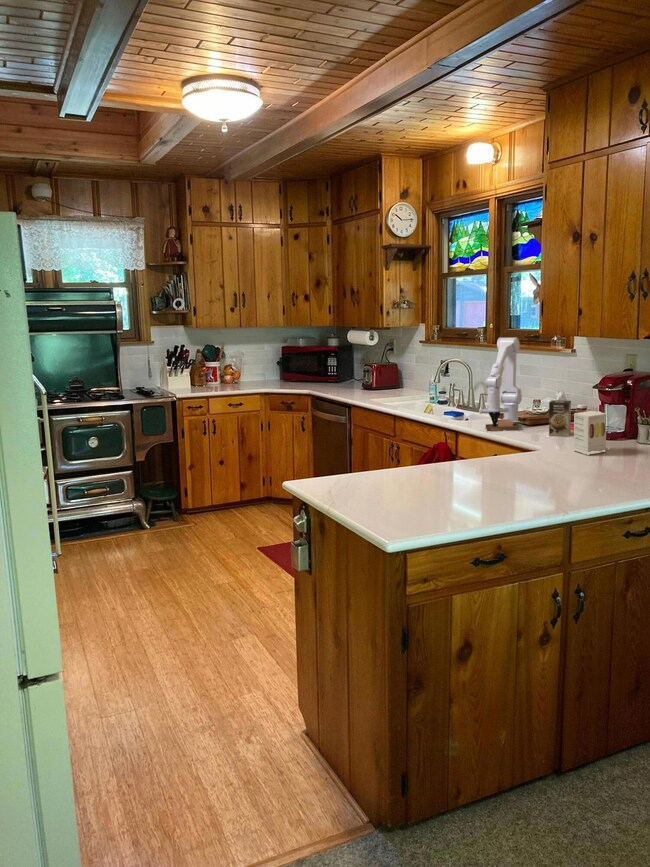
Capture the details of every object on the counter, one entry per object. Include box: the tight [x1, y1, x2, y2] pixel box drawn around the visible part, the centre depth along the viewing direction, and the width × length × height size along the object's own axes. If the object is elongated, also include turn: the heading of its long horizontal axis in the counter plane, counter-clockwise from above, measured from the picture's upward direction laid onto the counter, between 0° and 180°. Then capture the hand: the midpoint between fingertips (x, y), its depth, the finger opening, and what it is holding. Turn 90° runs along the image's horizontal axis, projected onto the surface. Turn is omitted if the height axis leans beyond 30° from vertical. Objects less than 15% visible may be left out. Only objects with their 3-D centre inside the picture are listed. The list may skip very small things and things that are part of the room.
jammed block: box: [497, 419, 514, 427], centre depth 349 cm, size 4×7×4 cm, turn 83°
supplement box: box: [573, 410, 607, 452], centre depth 293 cm, size 10×9×17 cm
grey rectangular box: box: [548, 399, 572, 438], centre depth 327 cm, size 9×6×16 cm
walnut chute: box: [485, 421, 523, 432], centre depth 349 cm, size 8×17×3 cm, turn 82°
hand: (494, 427), depth 350 cm, fingers closed
